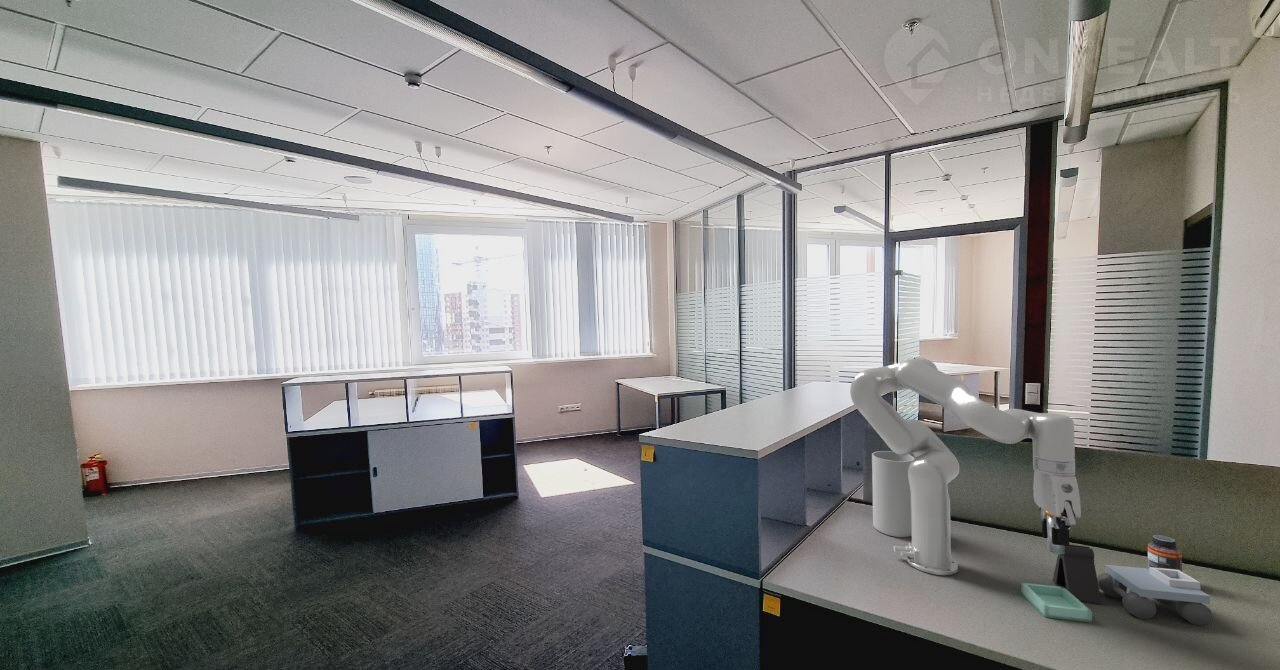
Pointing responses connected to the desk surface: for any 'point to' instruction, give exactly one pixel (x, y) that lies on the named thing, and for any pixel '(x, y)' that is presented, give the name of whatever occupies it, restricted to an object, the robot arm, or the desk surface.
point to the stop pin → (1051, 547)
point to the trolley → (1156, 591)
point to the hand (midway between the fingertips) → (1055, 540)
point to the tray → (1056, 602)
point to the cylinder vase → (891, 493)
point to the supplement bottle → (1164, 553)
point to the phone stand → (1078, 573)
